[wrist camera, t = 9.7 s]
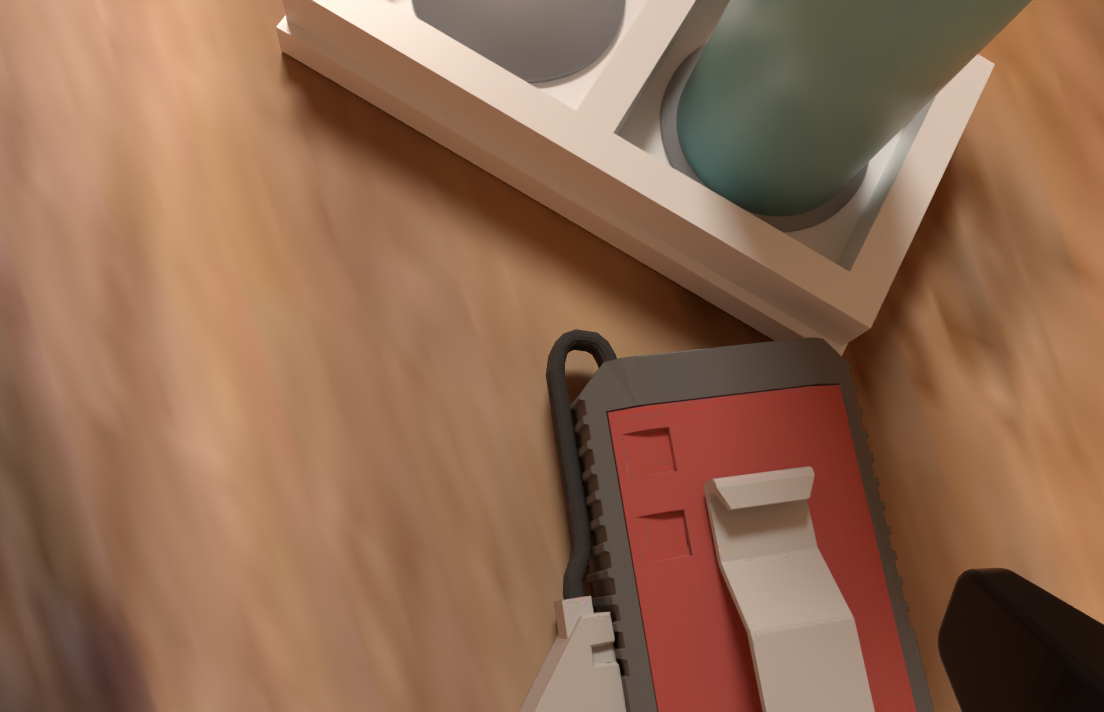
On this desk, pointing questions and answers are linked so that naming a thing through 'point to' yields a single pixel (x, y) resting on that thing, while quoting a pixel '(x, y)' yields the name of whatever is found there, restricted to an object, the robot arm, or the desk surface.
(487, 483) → the desk surface
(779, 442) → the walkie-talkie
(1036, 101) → the desk surface
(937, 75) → the green banded cylinder
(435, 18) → the housing
